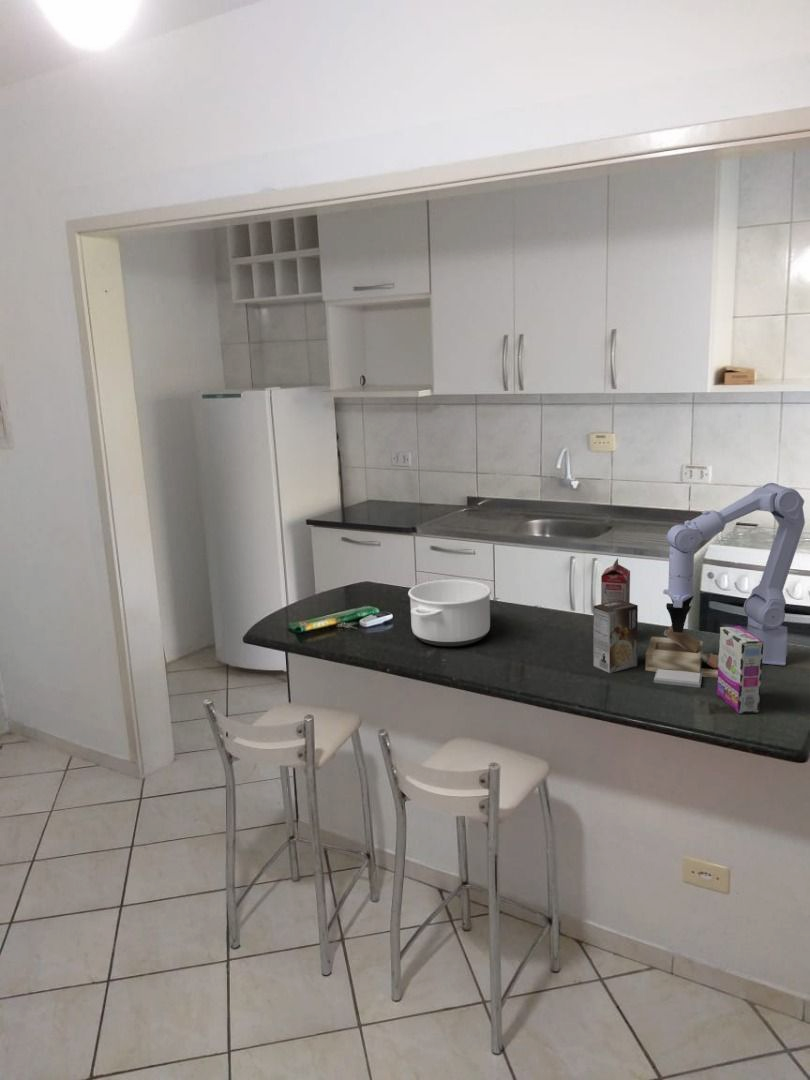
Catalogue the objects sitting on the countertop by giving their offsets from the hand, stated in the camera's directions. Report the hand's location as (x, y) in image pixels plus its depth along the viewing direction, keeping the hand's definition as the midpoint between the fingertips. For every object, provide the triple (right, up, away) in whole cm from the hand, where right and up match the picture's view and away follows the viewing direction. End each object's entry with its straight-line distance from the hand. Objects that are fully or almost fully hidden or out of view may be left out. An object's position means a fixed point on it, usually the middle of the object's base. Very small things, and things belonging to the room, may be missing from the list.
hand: (679, 627), depth 210 cm
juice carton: (-11, -6, +22) cm, 25 cm away
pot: (-55, -6, +29) cm, 63 cm away
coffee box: (-15, -10, +3) cm, 19 cm away
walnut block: (+1, -4, +1) cm, 4 cm away
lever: (+3, -6, 0) cm, 6 cm away
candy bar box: (+6, -15, -22) cm, 27 cm away
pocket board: (+2, -10, +2) cm, 10 cm away
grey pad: (-3, -12, -8) cm, 14 cm away
